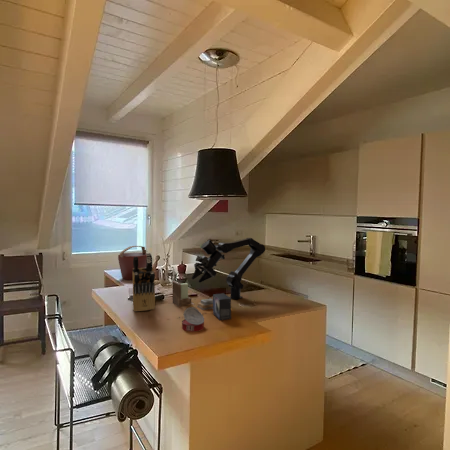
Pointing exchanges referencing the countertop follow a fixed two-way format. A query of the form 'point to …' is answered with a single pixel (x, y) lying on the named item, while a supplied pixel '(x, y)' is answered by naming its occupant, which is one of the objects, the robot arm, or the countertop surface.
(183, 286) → the green board
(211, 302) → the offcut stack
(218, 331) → the countertop surface
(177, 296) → the walnut rack
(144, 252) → the bucket
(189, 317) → the canned food
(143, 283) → the knife block
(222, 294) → the small box
